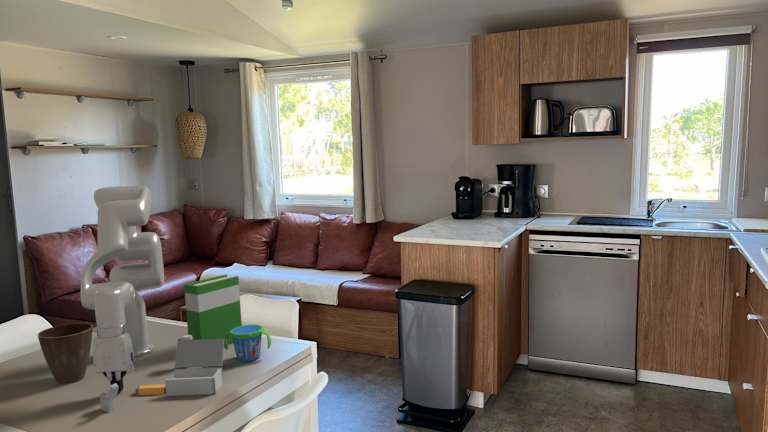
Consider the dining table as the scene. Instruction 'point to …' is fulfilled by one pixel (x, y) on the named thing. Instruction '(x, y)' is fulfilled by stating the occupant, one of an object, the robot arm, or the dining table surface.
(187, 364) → the cover
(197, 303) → the hardback book
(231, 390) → the dining table surface
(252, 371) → the dining table surface
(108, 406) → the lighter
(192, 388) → the open box
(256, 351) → the snack cup
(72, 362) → the plant pot
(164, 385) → the orange cartridge
